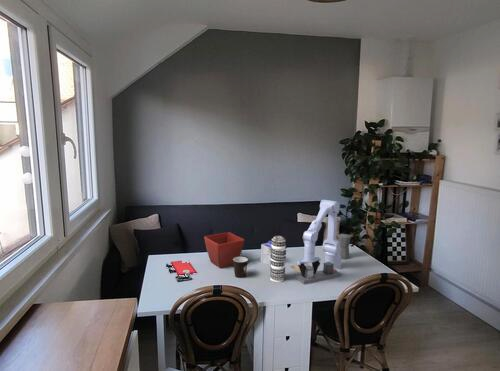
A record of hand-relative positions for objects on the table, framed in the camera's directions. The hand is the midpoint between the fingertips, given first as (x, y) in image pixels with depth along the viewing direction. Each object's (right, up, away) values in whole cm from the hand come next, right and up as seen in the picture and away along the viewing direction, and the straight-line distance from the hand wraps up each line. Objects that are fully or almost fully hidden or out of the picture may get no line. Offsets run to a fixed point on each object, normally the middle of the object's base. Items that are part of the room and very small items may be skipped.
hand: (308, 274), depth 194 cm
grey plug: (0, -3, +1) cm, 3 cm away
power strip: (+6, -3, +4) cm, 8 cm away
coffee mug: (-38, -2, +7) cm, 38 cm away
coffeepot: (+31, +2, +39) cm, 50 cm away
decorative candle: (-17, -3, +2) cm, 18 cm away
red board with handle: (-75, -1, +12) cm, 76 cm away
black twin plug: (+13, -3, +7) cm, 14 cm away
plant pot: (-50, +1, +25) cm, 56 cm away
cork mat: (0, -1, +17) cm, 17 cm away
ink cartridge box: (-21, 0, +25) cm, 33 cm away
